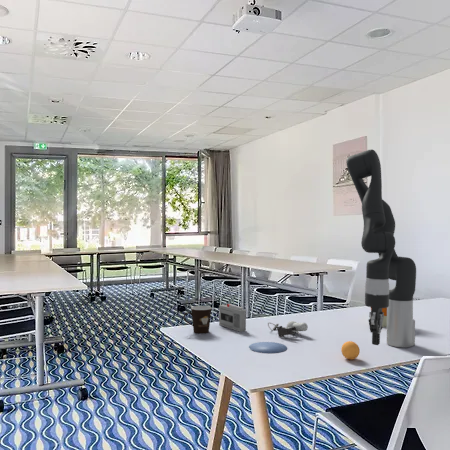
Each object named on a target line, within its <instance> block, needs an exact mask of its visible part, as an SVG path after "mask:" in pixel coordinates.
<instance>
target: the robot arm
mask: <svg viewBox="0 0 450 450" xmlns="http://www.w3.org/2000/svg"><path fill="white" fill-rule="evenodd" d="M346 167H347V170H348V173H349V175H350V178H351V180H352V182H353V185H354V186H355V189H356V190H355V191H356V193H357V194H358V196H359V197H358V198H359V199H360V202H361V212H362V213H361V214H362V218H363V228H362V229H363V232H362V236H361V237H362V238H361V247H362V250H363V251H364V252H366V253H368V254H373V253H374V254H378V258H376V259H371V260H368V261H367V263H366V274H365V275H366V277H365V279H366V280H365V283H364V284H365V286H364V287H365V289H364V290H365V292H364V305H365V306H366V307H369V308H370V311H369V315H368V317H369V318H368V326H369V331H370V333H371V344H372V345H373V346H379V345H380V344H381V332H382V330H383V327H382V325H383V317H384V312H382V308H387V327H386V344H387V345H388V346H391V347H396V348H412V347H413V346H415V345H416V320H415V318H414V295H415V292H416V284H417V283H416V281H417V266H416V263H415V261H414V259H412V258H410V257H407V256H406V257H405V256H398V254H397V252H396V250H395V246H396V238H395V236H394V235H395V231H396V220H395V218H394V213H393V210H392V208H391V206H390V205H389V204H388V203H387V202H386V201H385V200H384V199H383V191H382V190H383V186H382V184H383V183H382V165H381V160H380V157H379V155H378V153H377V151H376V150H374V149H367V150H364V151H361V152H358V153H355V154H352V155H349V156H347V158H346ZM368 177H370V182H369V186H368V185H367V184H366V182H365V181H364V179H366V178H368ZM389 280H391V281H395V287H394V288H391V289H390V281H389Z"/></svg>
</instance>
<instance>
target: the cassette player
mask: <svg viewBox="0 0 450 450" xmlns="http://www.w3.org/2000/svg"><path fill="white" fill-rule="evenodd" d="M218 309H219V310H218V311H219V312H218V317H219V318H218V323H219V326H222V327H225V328H228V329H231V330H234V331H237V332H239V331H240V333H243V332H247V310H246V309H243V306H237V305H235V304H231V303H227V304H219V305H218ZM242 331H243V332H242Z"/></svg>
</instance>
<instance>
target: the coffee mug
mask: <svg viewBox="0 0 450 450" xmlns="http://www.w3.org/2000/svg"><path fill="white" fill-rule="evenodd" d="M188 314H189V315H191V320H192V323H191V322H189V321H188V320H187V319H186V316H187V315H188ZM211 316H212V307H211V306H207V305H195V306H191V307H190V311H187V312H184V314H183V318H182V319H183V320H184V322H185V323H187V324H189V325H190V326H192V329H193V333H195V334H208V333H209V331H210V326H211Z"/></svg>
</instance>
